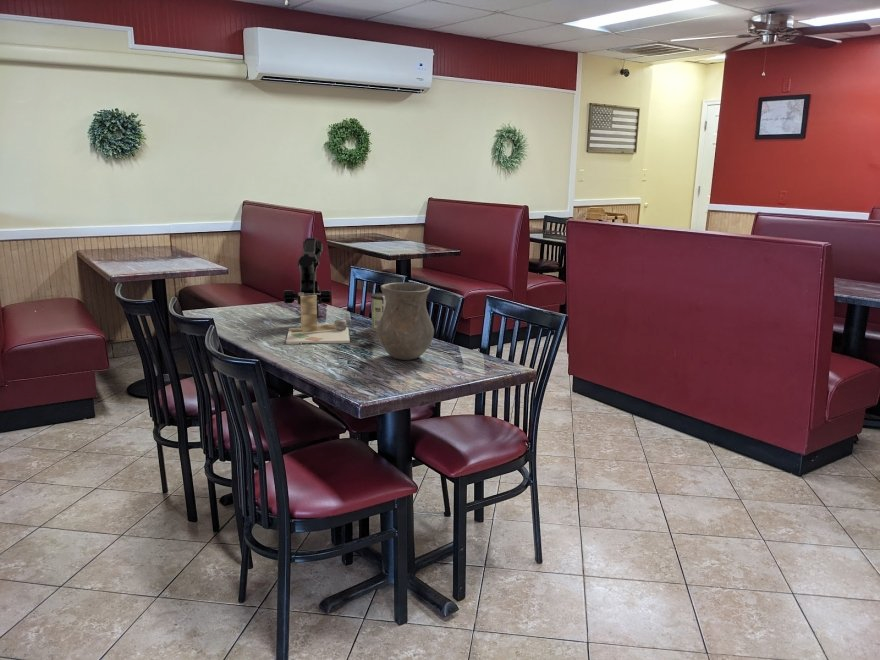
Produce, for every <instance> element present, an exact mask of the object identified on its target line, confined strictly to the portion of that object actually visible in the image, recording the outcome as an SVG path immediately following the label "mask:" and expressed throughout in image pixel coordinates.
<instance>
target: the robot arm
mask: <svg viewBox="0 0 880 660" xmlns="http://www.w3.org/2000/svg"><path fill="white" fill-rule="evenodd" d="M323 247H324V246H323V242H322V241H320V240H319V239H318V238H317V237H307V238H305V240H304V241H302V251H303V253H302V254H301V255H300V257H299V258H298V261H297V267H298V268H299V272H300V287H299V288H300V289H299V292H297V293H295V292H294V290H293V289H292V290H291V289H289V290H287V289H286V290H284V291H283V303H284V304H293V303H294V302H295V300H297V304H298V305H301V298H300V296H309V295H317V319H318V318H321V317H322V315H320V314H319V309H320V307H319V305H320V304H322V303H323V304H330V303H332V290H330V289H323V290H322V289H321V290H320V289H319V284H318V281H317V269H318V268H319V265H320V261H319V260H320V258H321V257H322V253H323V249H324V248H323Z"/></svg>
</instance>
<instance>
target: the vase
mask: <svg viewBox="0 0 880 660" xmlns="http://www.w3.org/2000/svg"><path fill="white" fill-rule="evenodd" d="M380 290H381V291H382V292H381V293H383V294H384V296H385V299H386V306H385V309H384V312H383V315H382V317H381V320H380V322H379V325H378V327H377V331H376V335H377V338H378V341H379V344H380V345H381V347H382V348H383V350H384V351H385V352H386V353H387V354H388V355H389V356H391V357H392V358H394V359H396V360H401V361H411V360H416V359H418V358H420V357H421V356H422V355H423V354H424V353H426V351H427V350H428V348H429V346H430V345H431V344H432V341H433V338H434V334H435V328H434V325H433V322H432V319H431V317H430V314H429V313H428V309H427V298H428V295H429V293H430V292H431V286H430V285H428V284H424V283H416V282H401V281H400V282H390V283H389V282H388V283H384V284H382V285H380Z"/></svg>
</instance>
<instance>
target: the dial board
mask: <svg viewBox="0 0 880 660" xmlns="http://www.w3.org/2000/svg"><path fill="white" fill-rule="evenodd" d="M294 330H301V327H289V329H288V333H287V337H286V340H285V342H286V343H285V344H286V345H303V344H302V343H328V344H350V343H351V342H350V340H351V339H350V331H349V330H350V329H349V327H347V326H346V329H344V330H338V329H333V330H324V331H315V332H305V333H302V332H293V333H292V332H291V331H294ZM299 343H300V344H299Z"/></svg>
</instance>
